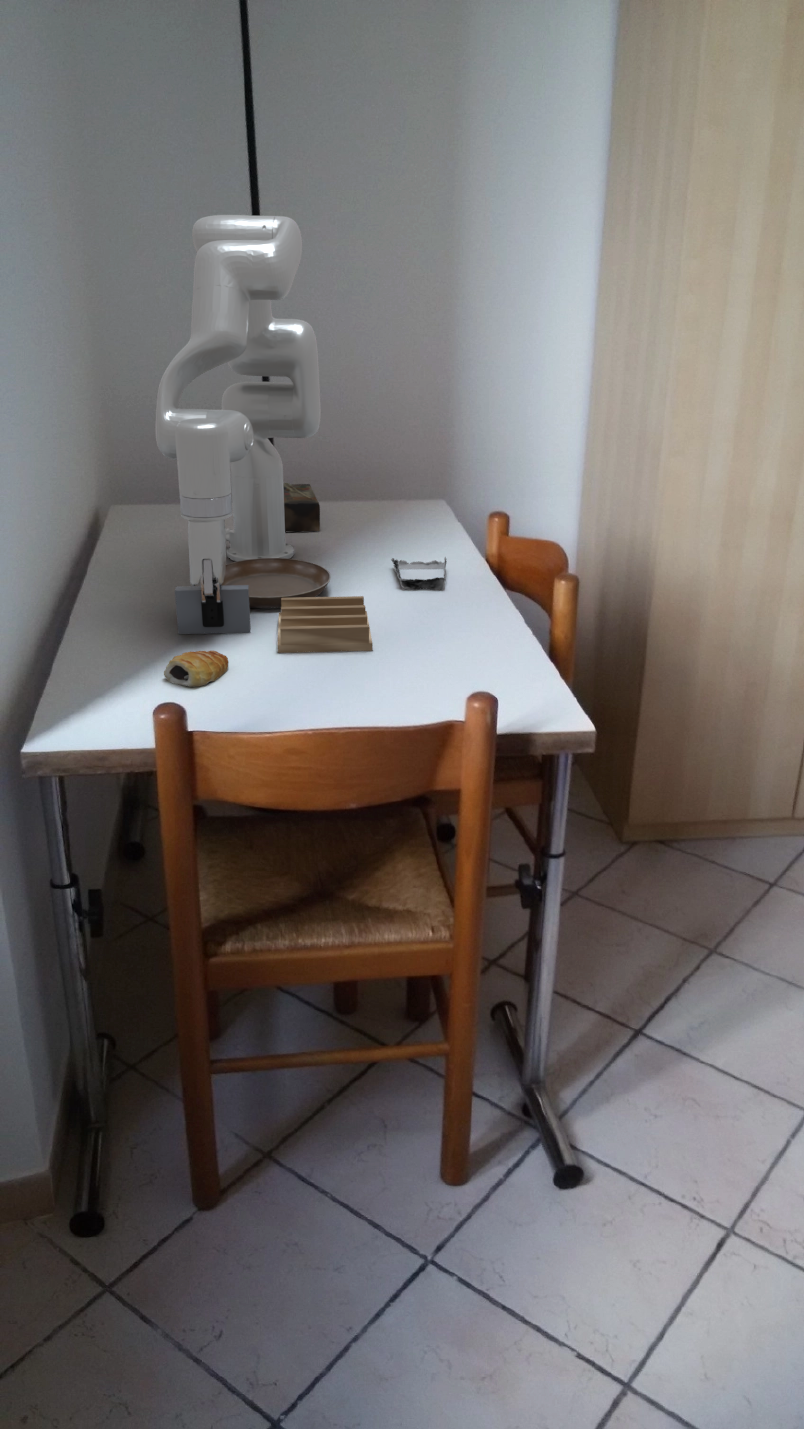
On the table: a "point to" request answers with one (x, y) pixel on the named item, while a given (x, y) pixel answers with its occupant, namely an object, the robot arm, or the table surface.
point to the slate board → (233, 610)
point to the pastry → (196, 668)
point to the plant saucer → (276, 579)
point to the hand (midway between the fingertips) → (214, 622)
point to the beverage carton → (300, 508)
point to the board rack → (323, 625)
